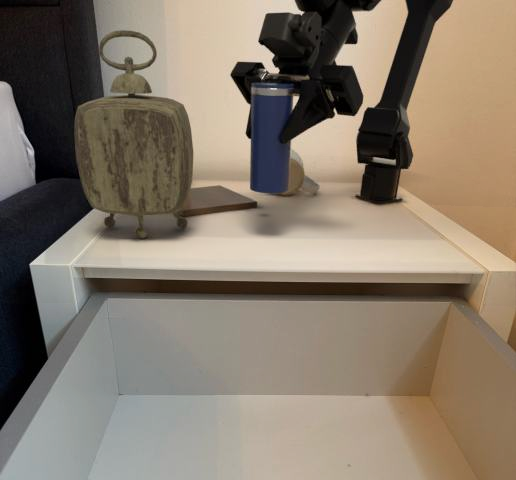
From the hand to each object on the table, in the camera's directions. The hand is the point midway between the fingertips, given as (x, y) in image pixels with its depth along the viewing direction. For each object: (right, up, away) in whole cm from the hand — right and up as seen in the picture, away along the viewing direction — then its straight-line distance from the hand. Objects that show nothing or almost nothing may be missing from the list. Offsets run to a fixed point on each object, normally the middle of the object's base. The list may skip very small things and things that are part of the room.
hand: (264, 139), depth 65 cm
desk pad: (-11, -1, +24) cm, 26 cm away
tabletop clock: (-17, -11, +7) cm, 22 cm away
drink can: (+1, -5, +4) cm, 7 cm away
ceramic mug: (+6, +3, +33) cm, 33 cm away
